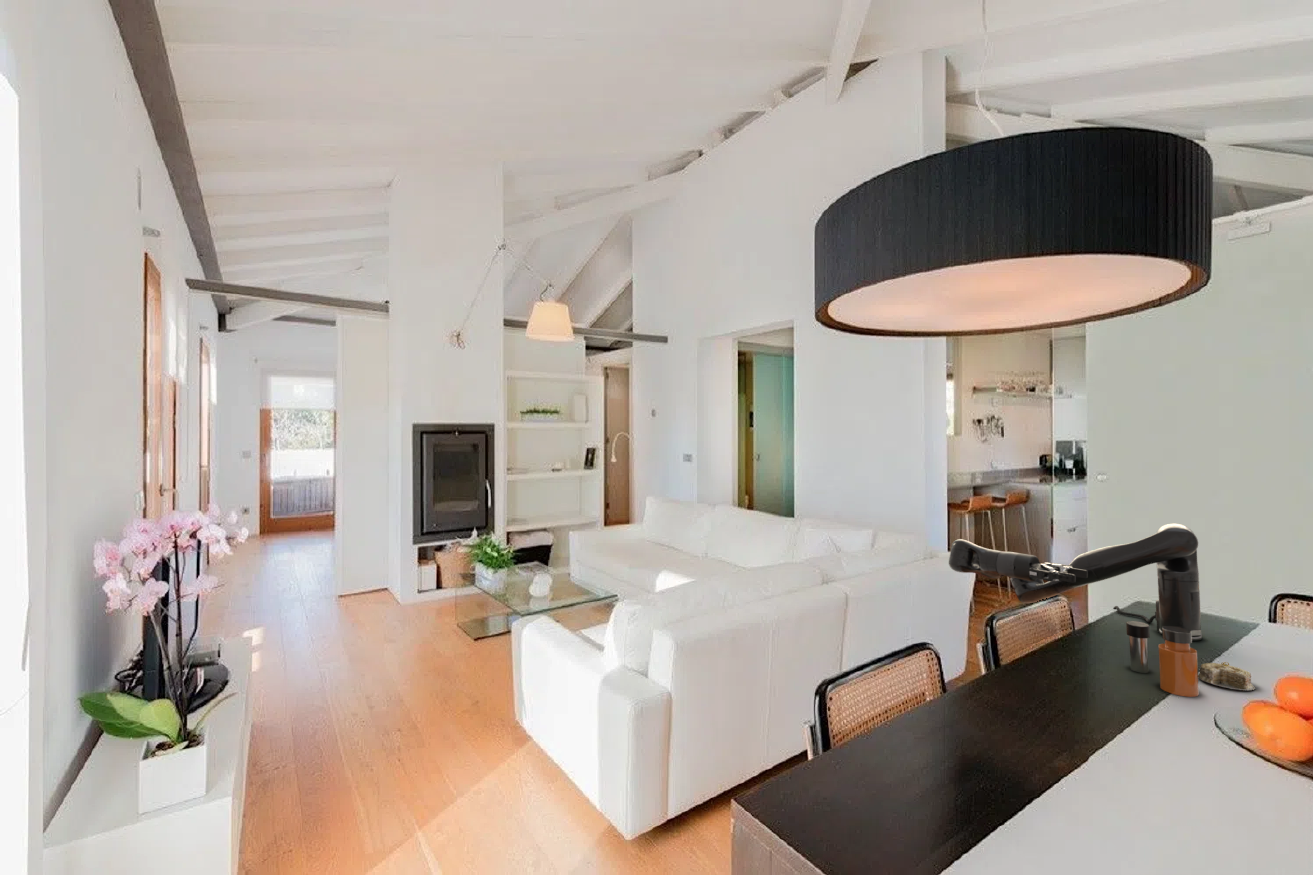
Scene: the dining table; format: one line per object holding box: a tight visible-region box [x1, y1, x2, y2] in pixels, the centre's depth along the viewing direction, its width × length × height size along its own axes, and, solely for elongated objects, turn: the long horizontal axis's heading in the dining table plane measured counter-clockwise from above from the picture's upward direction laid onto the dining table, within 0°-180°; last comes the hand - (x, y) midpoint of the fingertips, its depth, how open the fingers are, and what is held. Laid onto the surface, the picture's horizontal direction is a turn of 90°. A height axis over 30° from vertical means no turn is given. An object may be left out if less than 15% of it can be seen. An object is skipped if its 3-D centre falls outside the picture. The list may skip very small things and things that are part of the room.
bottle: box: [1157, 626, 1200, 698], centre depth 137 cm, size 7×7×14 cm
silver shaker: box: [1125, 620, 1151, 674], centre depth 149 cm, size 5×5×12 cm
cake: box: [1198, 661, 1256, 691], centre depth 140 cm, size 10×10×5 cm
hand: (1081, 576), depth 159 cm, fingers open, 8 cm apart
